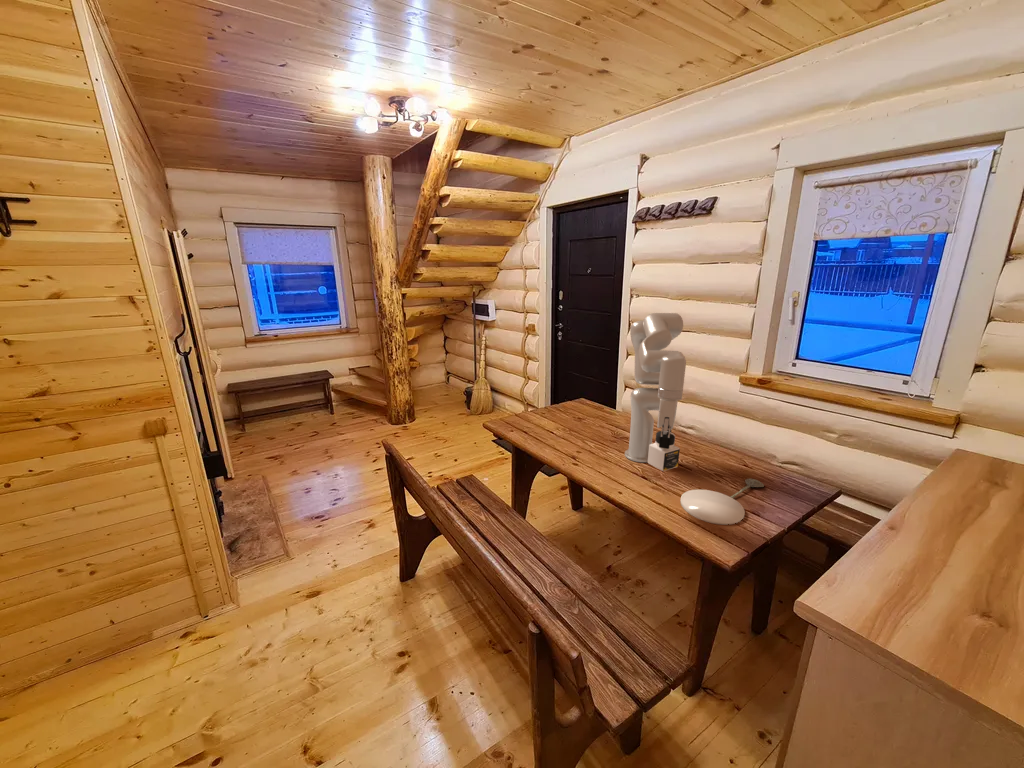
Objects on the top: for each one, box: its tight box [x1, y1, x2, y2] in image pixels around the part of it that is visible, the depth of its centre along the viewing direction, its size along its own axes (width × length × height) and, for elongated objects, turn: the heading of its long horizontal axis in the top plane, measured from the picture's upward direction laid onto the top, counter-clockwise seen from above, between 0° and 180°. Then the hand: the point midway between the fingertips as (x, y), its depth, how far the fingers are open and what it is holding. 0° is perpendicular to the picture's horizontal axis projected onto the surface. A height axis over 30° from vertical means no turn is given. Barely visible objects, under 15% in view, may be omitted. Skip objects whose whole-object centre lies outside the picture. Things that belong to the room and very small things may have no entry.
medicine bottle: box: [647, 430, 681, 472], centre depth 137 cm, size 7×7×12 cm
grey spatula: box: [730, 478, 765, 499], centre depth 151 cm, size 22×3×7 cm
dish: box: [680, 489, 746, 526], centre depth 140 cm, size 20×20×1 cm
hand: (664, 443), depth 137 cm, fingers closed on medicine bottle, 6 cm apart
